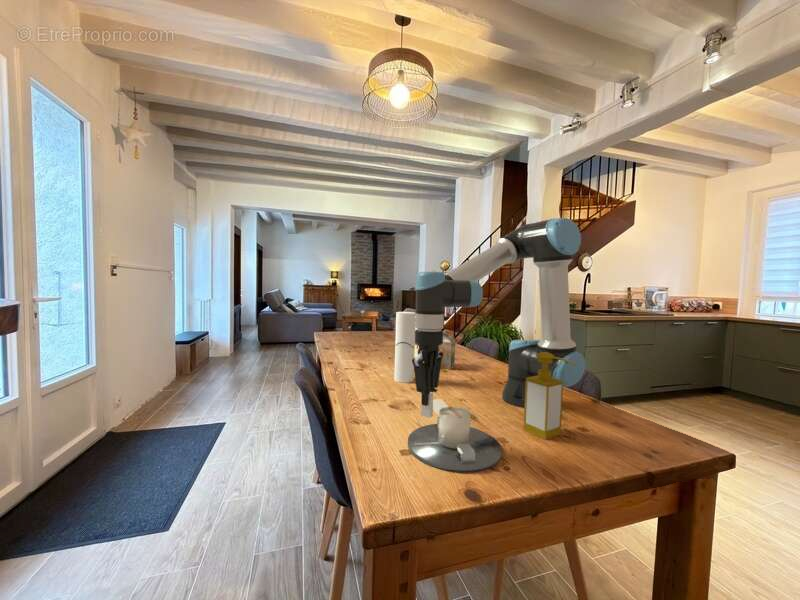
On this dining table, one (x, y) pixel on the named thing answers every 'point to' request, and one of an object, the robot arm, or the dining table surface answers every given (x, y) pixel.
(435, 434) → the post base
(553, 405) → the soap bottle
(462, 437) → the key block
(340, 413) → the dining table surface
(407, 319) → the container
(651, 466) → the dining table surface
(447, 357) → the milk carton
